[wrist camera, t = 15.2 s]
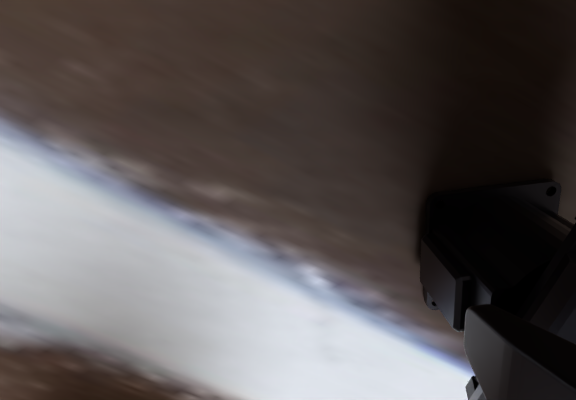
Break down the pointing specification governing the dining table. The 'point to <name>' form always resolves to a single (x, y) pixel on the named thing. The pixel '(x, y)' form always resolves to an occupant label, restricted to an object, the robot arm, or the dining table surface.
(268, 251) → the dining table surface
